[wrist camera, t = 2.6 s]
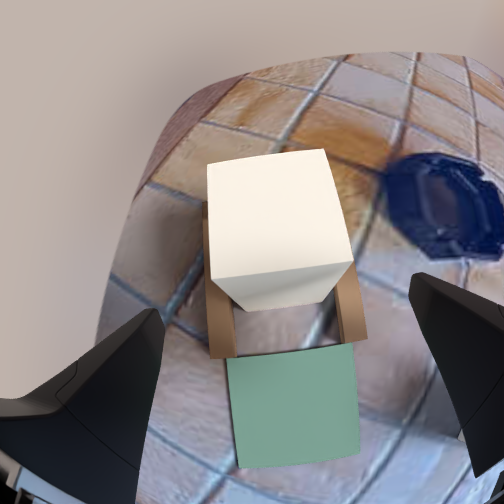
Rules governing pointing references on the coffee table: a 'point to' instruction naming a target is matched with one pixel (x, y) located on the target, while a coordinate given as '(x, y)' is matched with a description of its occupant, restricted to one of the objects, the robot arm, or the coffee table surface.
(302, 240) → the cream block
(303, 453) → the green mat
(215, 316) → the brown wooden frame
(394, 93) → the coffee table surface
